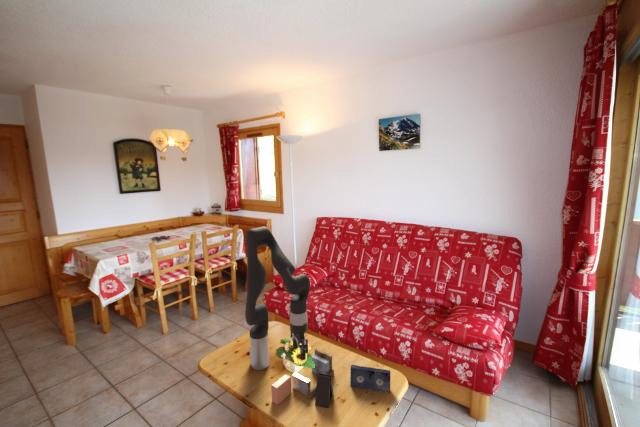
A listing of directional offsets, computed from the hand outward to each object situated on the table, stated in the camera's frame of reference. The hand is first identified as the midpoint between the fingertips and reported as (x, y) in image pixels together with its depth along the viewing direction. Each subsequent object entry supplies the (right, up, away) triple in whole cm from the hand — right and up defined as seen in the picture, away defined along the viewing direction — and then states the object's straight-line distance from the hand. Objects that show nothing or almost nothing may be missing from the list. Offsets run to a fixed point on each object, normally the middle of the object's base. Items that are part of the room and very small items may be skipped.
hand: (299, 354), depth 134 cm
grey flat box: (+1, -21, +7) cm, 22 cm away
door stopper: (+11, -21, +2) cm, 24 cm away
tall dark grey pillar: (+6, -19, +13) cm, 24 cm away
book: (-8, -21, +4) cm, 23 cm away
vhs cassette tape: (+33, -20, +8) cm, 39 cm away
